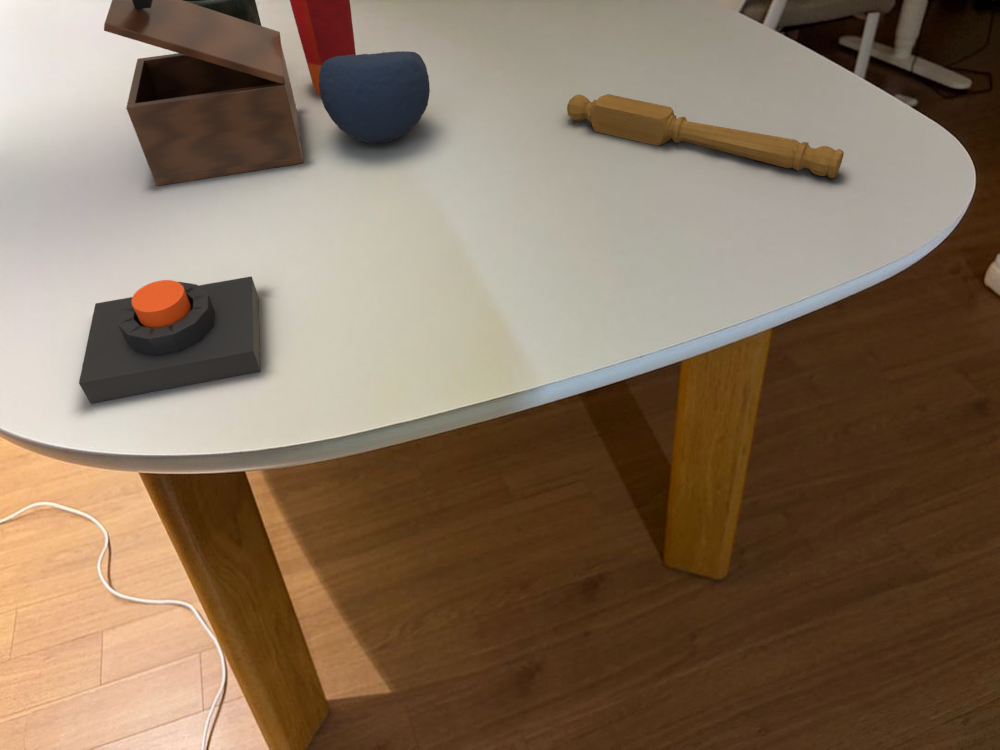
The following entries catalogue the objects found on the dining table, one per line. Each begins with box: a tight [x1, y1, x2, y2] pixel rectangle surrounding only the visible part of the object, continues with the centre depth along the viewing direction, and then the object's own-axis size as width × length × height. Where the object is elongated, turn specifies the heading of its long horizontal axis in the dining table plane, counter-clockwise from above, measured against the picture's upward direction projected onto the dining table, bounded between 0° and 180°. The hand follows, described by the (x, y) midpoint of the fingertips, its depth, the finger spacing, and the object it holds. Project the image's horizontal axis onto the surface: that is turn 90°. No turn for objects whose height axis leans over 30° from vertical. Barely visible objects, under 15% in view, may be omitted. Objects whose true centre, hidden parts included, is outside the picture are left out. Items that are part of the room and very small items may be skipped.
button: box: [131, 279, 191, 328], centre depth 63 cm, size 4×4×2 cm
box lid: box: [103, 0, 284, 84], centre depth 82 cm, size 16×13×1 cm
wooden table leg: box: [566, 93, 845, 179], centre depth 85 cm, size 3×3×30 cm
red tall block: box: [289, 0, 357, 96], centre depth 96 cm, size 8×8×14 cm
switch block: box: [78, 276, 261, 404], centre depth 65 cm, size 13×10×4 cm
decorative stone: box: [319, 50, 431, 145], centre depth 88 cm, size 12×12×10 cm
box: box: [125, 44, 304, 187], centre depth 88 cm, size 16×13×9 cm
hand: (144, 3), depth 79 cm, fingers closed
